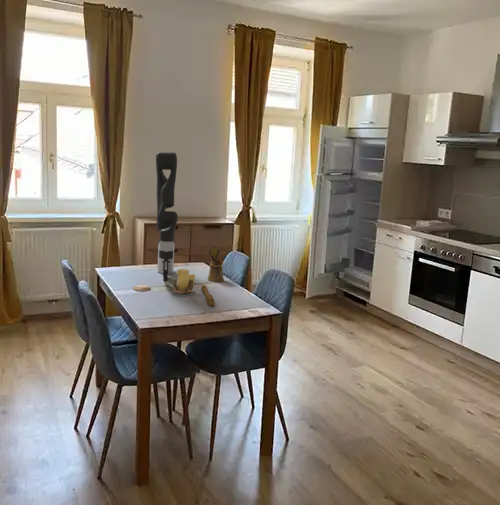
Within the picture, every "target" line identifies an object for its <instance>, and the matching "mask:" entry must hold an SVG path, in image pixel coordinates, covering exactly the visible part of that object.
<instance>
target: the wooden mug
mask: <svg viewBox="0 0 500 505" xmlns="http://www.w3.org/2000/svg"><path fill="white" fill-rule="evenodd" d="M208 254H209V256H211V258H212V260H211V261H210V264H209V267H210V268H209V271H208V272H209V273H208V276H207V281H209V282H213V283H221V282H224V279H225V278H224V273H223V261H222V260H220V259H218V256H219V255H220V250H219V249H218V248H217V247H216V246H215V245H212V246H211V247H210V248H209V249H208Z"/></svg>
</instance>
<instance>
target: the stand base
mask: <svg viewBox="0 0 500 505" xmlns="http://www.w3.org/2000/svg"><path fill="white" fill-rule="evenodd" d="M169 294H171V295H173V296H179V297H190V296H193V295H195V294H196V291H195V290H193V289H192V293H189V294H178V293H174V292H173V289H171V290H169Z"/></svg>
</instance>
